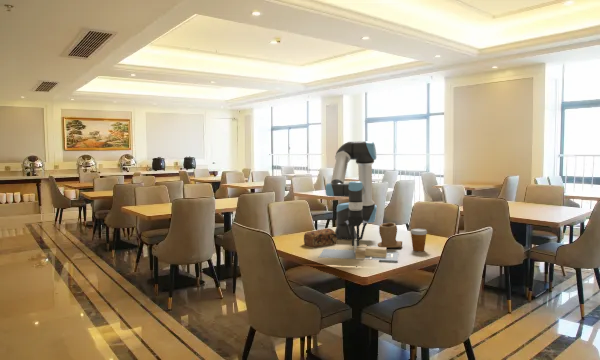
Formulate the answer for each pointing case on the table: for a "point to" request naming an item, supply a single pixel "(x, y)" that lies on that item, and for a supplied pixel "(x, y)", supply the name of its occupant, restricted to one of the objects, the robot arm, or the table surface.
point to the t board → (352, 255)
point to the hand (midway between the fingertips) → (355, 251)
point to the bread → (320, 238)
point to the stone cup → (389, 236)
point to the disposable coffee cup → (418, 239)
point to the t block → (370, 251)
